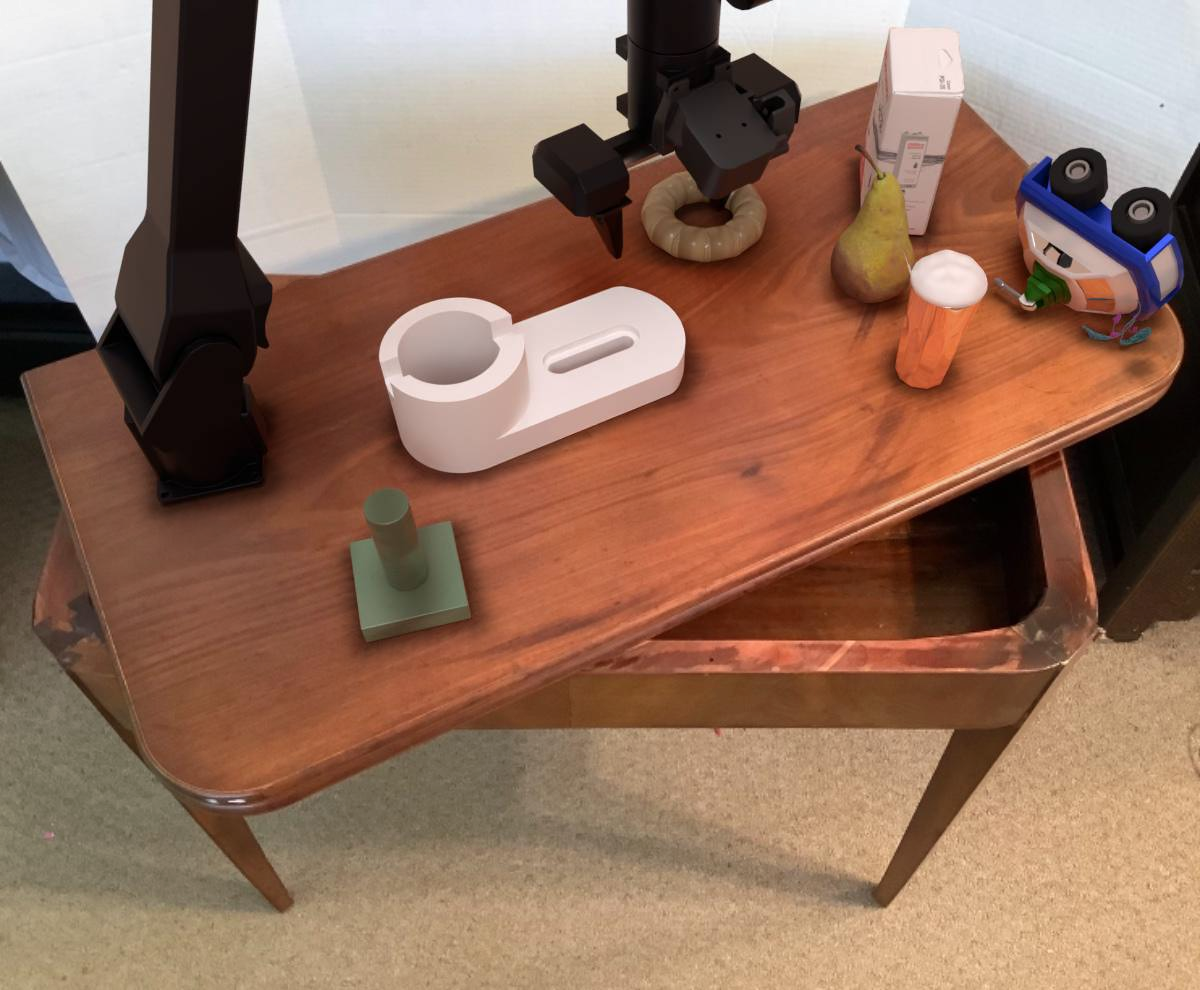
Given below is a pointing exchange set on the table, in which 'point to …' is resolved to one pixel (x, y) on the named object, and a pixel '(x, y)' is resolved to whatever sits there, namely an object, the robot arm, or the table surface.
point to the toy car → (1093, 240)
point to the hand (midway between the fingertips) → (666, 231)
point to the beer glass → (937, 315)
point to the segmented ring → (697, 239)
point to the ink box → (914, 116)
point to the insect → (1132, 339)
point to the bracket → (524, 373)
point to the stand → (405, 571)
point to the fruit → (875, 244)
